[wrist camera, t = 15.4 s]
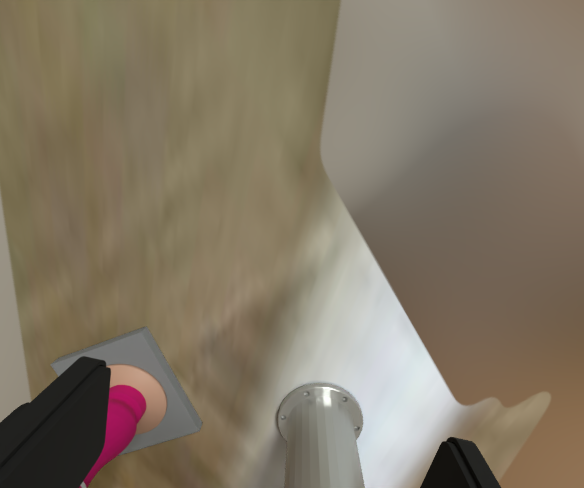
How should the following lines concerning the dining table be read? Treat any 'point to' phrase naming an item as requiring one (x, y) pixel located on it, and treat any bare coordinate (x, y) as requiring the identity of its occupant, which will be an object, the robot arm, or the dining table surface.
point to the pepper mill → (119, 425)
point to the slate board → (144, 386)
